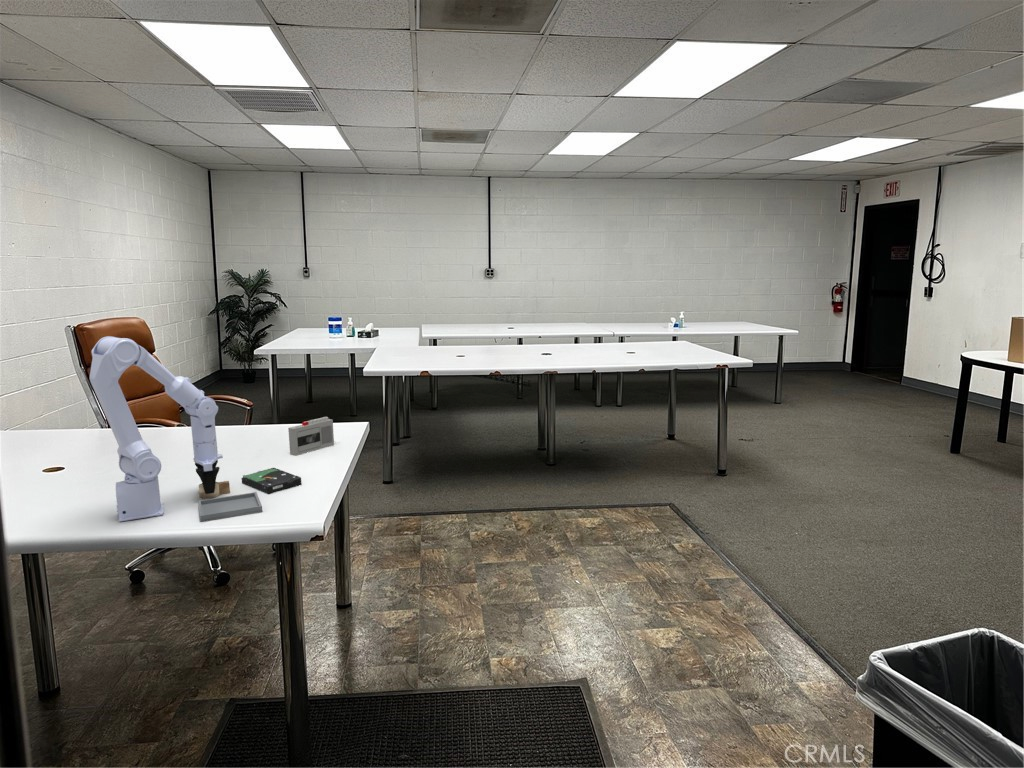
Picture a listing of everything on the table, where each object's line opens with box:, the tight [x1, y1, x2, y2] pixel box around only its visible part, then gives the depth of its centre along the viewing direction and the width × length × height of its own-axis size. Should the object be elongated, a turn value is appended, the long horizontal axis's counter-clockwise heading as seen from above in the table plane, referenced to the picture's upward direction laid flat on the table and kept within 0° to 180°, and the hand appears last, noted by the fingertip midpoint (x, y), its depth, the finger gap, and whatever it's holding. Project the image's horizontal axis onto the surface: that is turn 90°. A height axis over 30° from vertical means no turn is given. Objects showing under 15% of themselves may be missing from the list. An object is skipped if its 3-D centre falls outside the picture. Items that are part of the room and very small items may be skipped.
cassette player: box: [288, 416, 335, 457], centre depth 222 cm, size 16×3×10 cm, turn 144°
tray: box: [197, 491, 263, 523], centre depth 169 cm, size 14×12×2 cm
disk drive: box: [240, 467, 303, 495], centre depth 188 cm, size 10×3×15 cm
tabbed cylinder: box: [198, 480, 231, 499], centre depth 180 cm, size 8×5×3 cm, turn 117°
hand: (209, 490), depth 179 cm, fingers closed on tabbed cylinder, 5 cm apart
